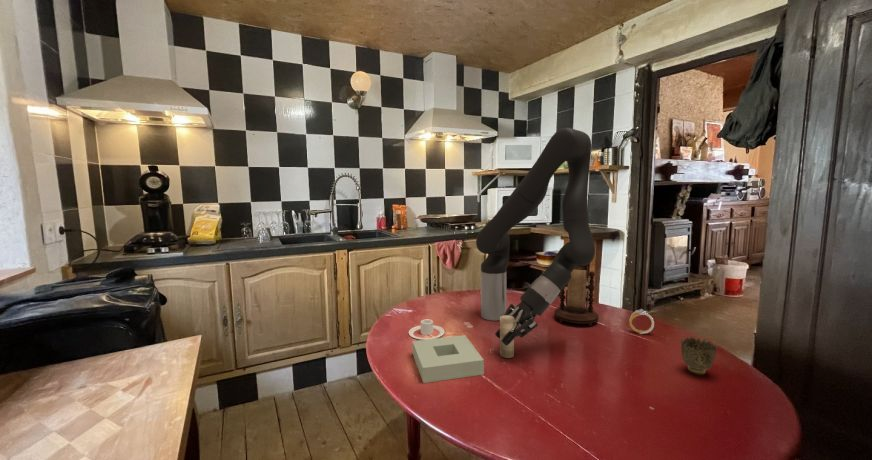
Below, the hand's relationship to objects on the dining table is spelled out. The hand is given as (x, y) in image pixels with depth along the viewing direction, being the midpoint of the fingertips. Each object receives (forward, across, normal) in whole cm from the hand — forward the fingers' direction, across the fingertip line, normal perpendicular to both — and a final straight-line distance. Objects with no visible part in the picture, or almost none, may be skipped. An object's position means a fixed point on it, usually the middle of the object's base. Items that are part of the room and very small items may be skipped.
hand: (500, 339), depth 103 cm
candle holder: (+16, -22, -8) cm, 28 cm away
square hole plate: (+15, 0, -8) cm, 17 cm away
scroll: (-22, -19, +30) cm, 42 cm away
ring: (-32, -3, +39) cm, 50 cm away
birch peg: (+2, 0, +5) cm, 5 cm away
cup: (-28, +21, +35) cm, 50 cm away
